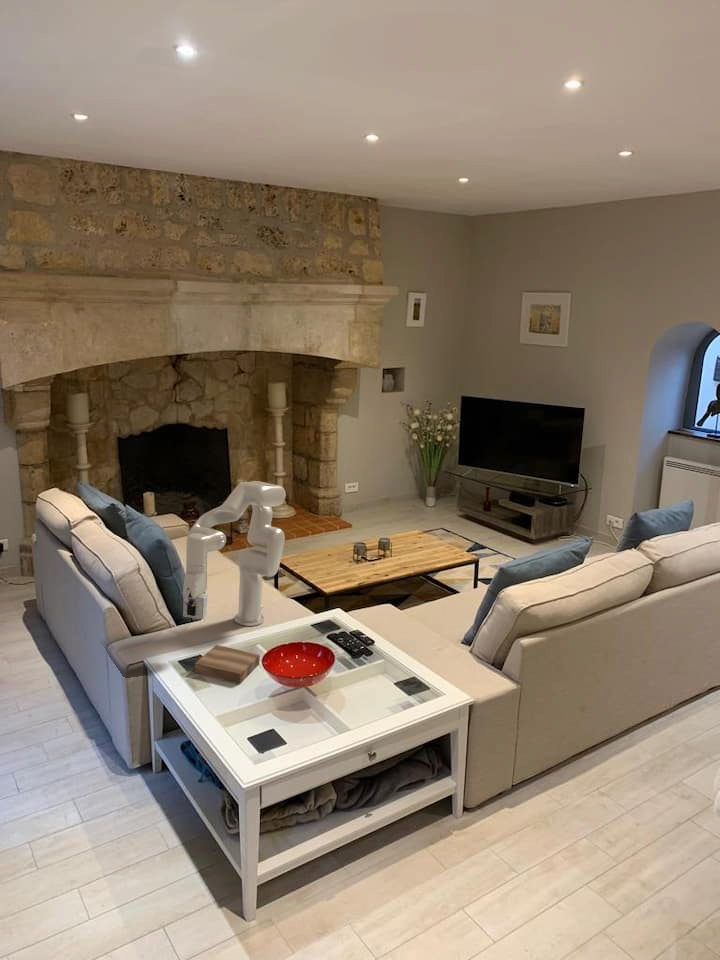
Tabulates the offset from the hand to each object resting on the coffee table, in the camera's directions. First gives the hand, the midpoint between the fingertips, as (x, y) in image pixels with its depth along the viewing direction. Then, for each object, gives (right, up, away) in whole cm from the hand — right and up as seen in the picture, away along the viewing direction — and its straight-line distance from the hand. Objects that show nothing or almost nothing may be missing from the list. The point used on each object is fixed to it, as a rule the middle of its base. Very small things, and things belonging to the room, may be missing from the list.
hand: (195, 611), depth 272 cm
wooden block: (+13, -20, -5) cm, 24 cm away
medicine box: (0, -2, 0) cm, 2 cm away
